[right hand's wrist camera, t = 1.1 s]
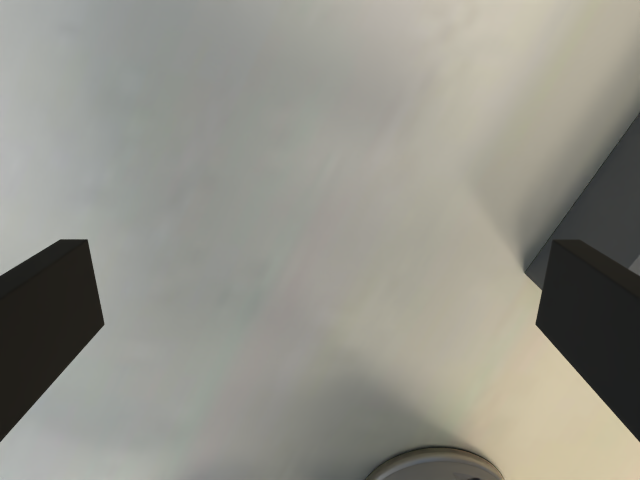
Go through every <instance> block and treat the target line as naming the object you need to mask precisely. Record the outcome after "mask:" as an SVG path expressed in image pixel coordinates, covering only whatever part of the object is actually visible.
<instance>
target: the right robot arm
mask: <svg viewBox="0 0 640 480" xmlns="http://www.w3.org/2000/svg"><path fill="white" fill-rule="evenodd" d="M103 326H104V319H103V314H102V309H101V304H100V299H99V294H98V289H97V284H96V279H95V274H94V269H93V264H92V259H91V254H90V249H89V244H88V239H60V240H59V241H57V242H55V243H54V244H52V245H50V246H49V247H47V248H46V249H44V250H42V251H41V252H39V253H37V254H36V255H34V256H32V257H31V258H29V259H27V260H26V261H24V262H23V263H21V264H19V265H18V266H16V267H14V268H13V269H11V270H9V271H8V272H6V273H5V274H3V275H1V276H0V442H1V441H2V439H3V438H4V437H5V436H6V435H7V434H8V433H9V432H10V430H11V429H12V428H13V427H14V426H15V425H16V424H17V423H18V421H19V420H20V419H21V418H22V417H23V416H24V415H25V414H26V412H27V411H28V410H29V409H30V408H31V407H32V406H33V405H34V403H35V402H36V401H37V400H38V399H39V398H40V397H41V395H42V394H43V393H44V392H45V391H46V390H47V389H48V388H49V386H50V385H51V384H52V383H53V382H54V381H55V380H56V379H57V377H58V376H59V375H60V374H61V373H62V372H63V371H64V370H65V368H66V367H67V366H68V365H69V364H70V363H71V362H72V361H73V359H74V358H75V357H76V356H77V355H78V354H79V353H80V351H81V350H82V349H83V348H84V347H85V346H86V345H87V344H88V342H89V341H90V340H91V339H92V338H93V337H94V336H95V335H96V333H97V332H98V331H99V330H100V329H101V328H102V327H103ZM536 326H537V327H538V328H539V329H540V330H541V331H542V332H543V333H544V335H545V336H546V337H547V338H548V339H549V340H550V341H551V342H552V344H553V345H554V346H555V347H556V348H557V349H558V350H559V351H560V353H561V354H562V355H563V356H564V357H565V358H566V359H567V361H568V362H569V363H570V364H571V365H572V366H573V367H574V368H575V370H576V371H577V372H578V373H579V374H580V375H581V376H582V377H583V379H584V380H585V381H586V382H587V383H588V384H589V385H590V386H591V388H592V389H593V390H594V391H595V392H596V393H597V394H598V395H599V397H600V398H601V399H602V400H603V401H604V402H605V403H606V405H607V406H608V407H609V408H610V409H611V410H612V411H613V412H614V414H615V415H616V416H617V417H618V418H619V419H620V420H621V421H622V423H623V424H624V425H625V426H626V427H627V428H628V429H629V430H630V432H631V433H632V434H633V435H634V436H635V437H636V438H637V439H638V441H639V442H640V276H639V275H637V274H635V273H634V272H632V271H631V270H629V269H627V268H626V267H624V266H622V265H621V264H619V263H617V262H616V261H614V260H613V259H611V258H609V257H608V256H606V255H604V254H603V253H601V252H599V251H598V250H596V249H594V248H593V247H591V246H590V245H588V244H586V243H585V242H583V241H581V240H580V239H552V244H551V249H550V254H549V259H548V264H547V269H546V274H545V279H544V284H543V289H542V294H541V299H540V304H539V309H538V314H537V320H536ZM366 480H504V478H503V477H502V475H501V474H500V472H499V471H498V470H497V469H496V468H495V467H494V466H493V465H492V464H491V463H489V462H488V461H486V460H485V459H483V458H481V457H479V456H477V455H475V454H472V453H470V452H466V451H463V450H458V449H451V448H427V449H420V450H415V451H411V452H407V453H404V454H401V455H399V456H397V457H394V458H392V459H390V460H388V461H386V462H385V463H383V464H382V465H380V466H379V467H378V468H376V469H375V470H374V471H373V472H372V473H371V474H370V475H369V476H368V477H367V478H366Z"/></svg>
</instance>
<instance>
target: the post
mask: <svg viewBox="0 0 640 480" xmlns="http://www.w3.org/2000/svg"><path fill="white" fill-rule="evenodd" d="M552 239H580V240H581V241H583V242H585V243H586V244H588V245H590V246H591V247H593V248H594V249H596V250H598V251H599V252H601V253H603V254H604V255H606V256H608V257H609V258H611V259H613V260H614V261H616V262H617V263H619V264H621V265H622V266H624V267H626V268H627V269H629V270H631V271H632V272H634V273H635V274H637V275H639V276H640V114H639V115H638V116H637V118H636V119H635V121H634V122H633V123H632V125H631V126H630V128H629V129H628V130H627V132H626V133H625V134H624V136H623V137H622V139H621V140H620V141H619V143H618V144H617V146H616V147H615V148H614V150H613V151H612V152H611V154H610V155H609V157H608V158H607V159H606V161H605V162H604V164H603V165H602V166H601V168H600V169H599V170H598V172H597V173H596V175H595V176H594V177H593V179H592V180H591V182H590V183H589V184H588V186H587V187H586V189H585V190H584V191H583V193H582V194H581V195H580V197H579V198H578V200H577V201H576V202H575V204H574V205H573V207H572V208H571V209H570V211H569V212H568V213H567V215H566V216H565V218H564V219H563V220H562V222H561V223H560V225H559V226H558V227H557V229H556V230H555V231H554V233H553V234H552V236H551V237H550V238H549V240H548V241H547V243H546V244H545V245H544V247H543V248H542V250H541V251H540V252H539V254H538V255H537V256H536V258H535V259H534V261H533V262H532V263H531V265H530V266H529V268H528V269H527V270H526V272H525V274H526V275H527V276H528V277H529V278H530V279H531V280H532V281H533V282H534V283H535V284H536V285H537V286H538V287H539V288H540V289H541V290H542V289H543V284H544V279H545V274H546V269H547V264H548V259H549V254H550V249H551V244H552Z"/></svg>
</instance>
